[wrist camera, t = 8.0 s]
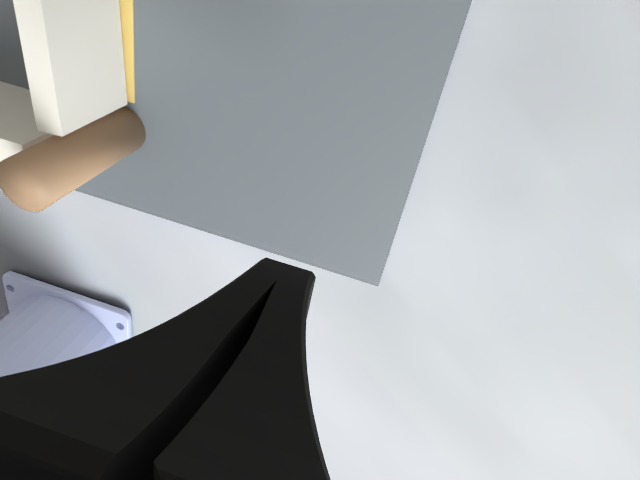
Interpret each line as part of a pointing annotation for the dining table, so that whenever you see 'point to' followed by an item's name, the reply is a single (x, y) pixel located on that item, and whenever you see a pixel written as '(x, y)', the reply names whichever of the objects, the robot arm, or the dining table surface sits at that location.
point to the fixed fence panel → (57, 151)
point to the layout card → (277, 118)
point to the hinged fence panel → (72, 61)
